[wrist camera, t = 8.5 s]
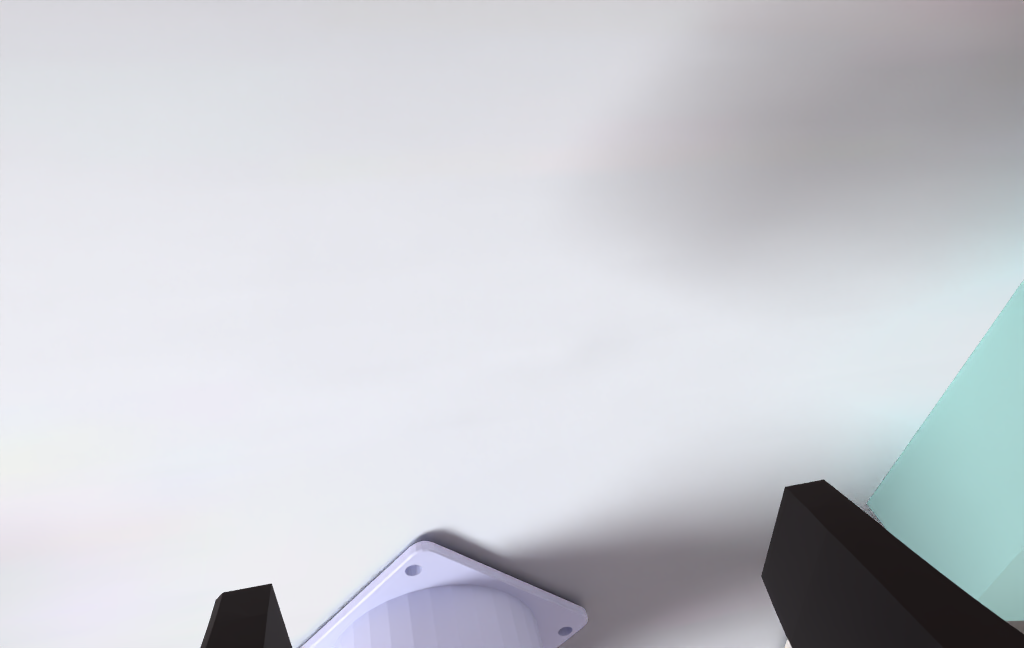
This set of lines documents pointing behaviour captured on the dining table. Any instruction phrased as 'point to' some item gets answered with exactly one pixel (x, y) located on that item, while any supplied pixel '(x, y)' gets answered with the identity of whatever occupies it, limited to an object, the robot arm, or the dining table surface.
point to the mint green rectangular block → (970, 474)
